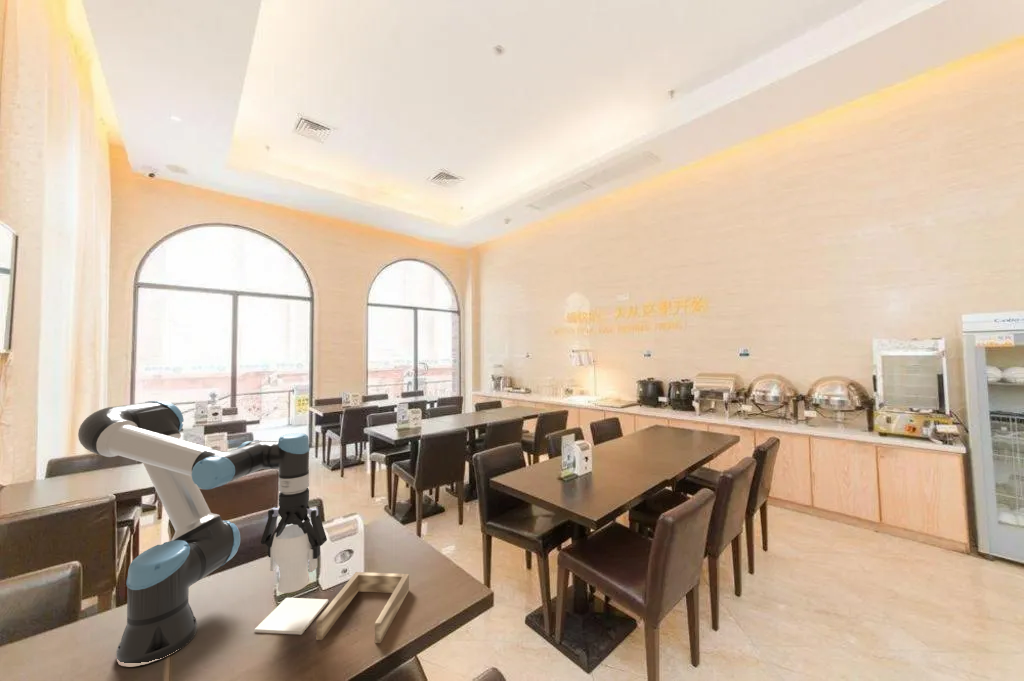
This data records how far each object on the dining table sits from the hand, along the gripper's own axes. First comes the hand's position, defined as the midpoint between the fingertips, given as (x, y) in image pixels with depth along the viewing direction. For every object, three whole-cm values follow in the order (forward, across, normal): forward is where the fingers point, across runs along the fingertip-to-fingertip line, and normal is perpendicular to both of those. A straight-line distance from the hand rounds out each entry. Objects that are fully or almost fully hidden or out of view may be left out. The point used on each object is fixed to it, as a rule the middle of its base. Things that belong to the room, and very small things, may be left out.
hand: (294, 568), depth 109 cm
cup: (+5, 0, 0) cm, 5 cm away
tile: (+13, 0, 0) cm, 13 cm away
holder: (+13, +20, +3) cm, 24 cm away
